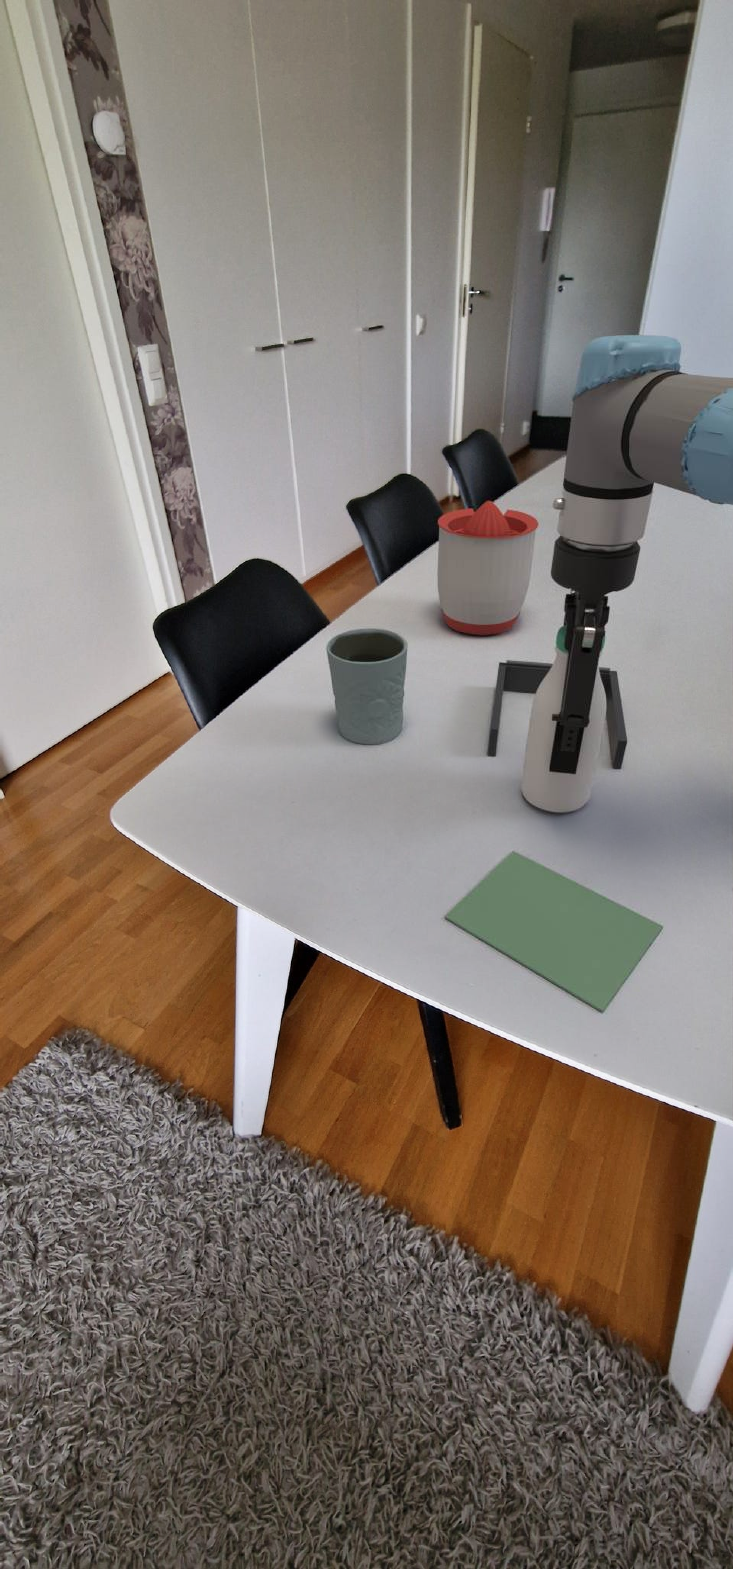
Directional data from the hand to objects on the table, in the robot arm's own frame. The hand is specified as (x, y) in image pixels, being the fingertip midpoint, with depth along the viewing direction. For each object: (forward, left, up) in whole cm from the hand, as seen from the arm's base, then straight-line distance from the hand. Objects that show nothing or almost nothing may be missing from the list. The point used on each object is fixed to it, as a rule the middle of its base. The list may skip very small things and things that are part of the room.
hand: (562, 748), depth 77 cm
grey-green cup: (+26, +2, -7) cm, 27 cm away
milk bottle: (0, 0, -6) cm, 6 cm away
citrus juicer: (+34, -36, -7) cm, 50 cm away
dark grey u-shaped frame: (+8, -14, -7) cm, 17 cm away
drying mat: (-10, +17, -7) cm, 21 cm away
